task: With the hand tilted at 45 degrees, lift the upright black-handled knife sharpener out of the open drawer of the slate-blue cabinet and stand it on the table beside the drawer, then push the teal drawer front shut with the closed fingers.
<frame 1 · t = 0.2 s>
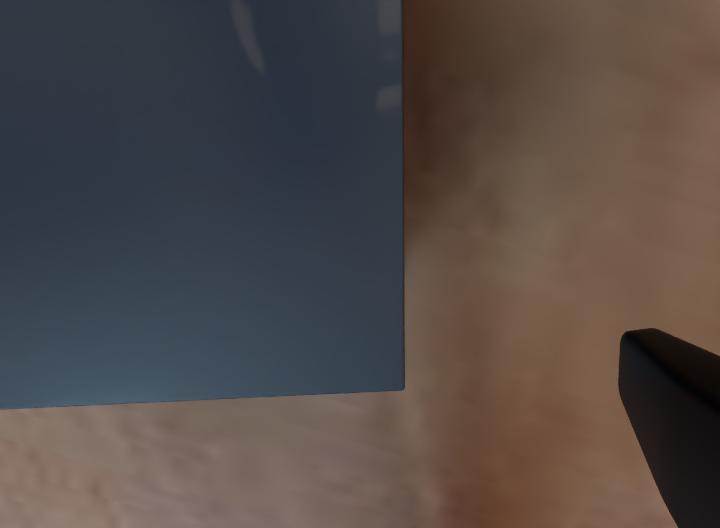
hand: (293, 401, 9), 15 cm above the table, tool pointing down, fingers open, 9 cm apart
cabinet: (203, 150, 22), on the table
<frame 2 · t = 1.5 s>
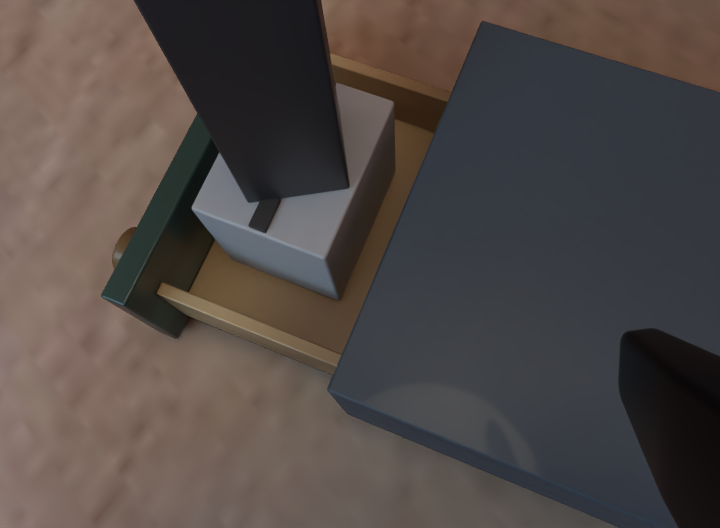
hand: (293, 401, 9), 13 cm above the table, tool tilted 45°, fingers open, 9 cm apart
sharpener: (314, 214, 23), point 1 cm above the table, touching drawer
cabinet: (578, 324, 23), on the table
drawer: (368, 221, 21), point 3 cm above the table, slide at 6.0 cm, touching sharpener
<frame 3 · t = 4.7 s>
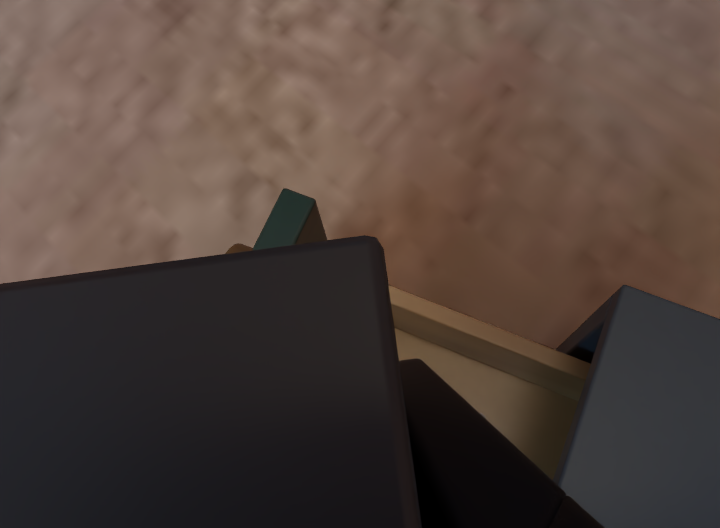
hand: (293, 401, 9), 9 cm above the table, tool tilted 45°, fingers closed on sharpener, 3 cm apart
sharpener: (347, 503, 16), point 1 cm above the table, touching drawer, gripper
when the fingers open (7 cm above the table, at t = 11.0 s): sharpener stays where it is, on the table.
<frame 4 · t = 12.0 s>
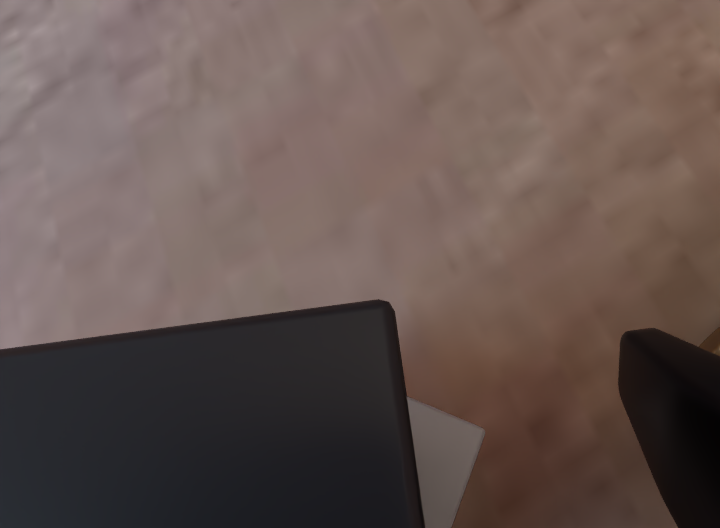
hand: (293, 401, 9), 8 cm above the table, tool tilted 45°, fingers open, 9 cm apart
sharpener: (351, 511, 16), on the table
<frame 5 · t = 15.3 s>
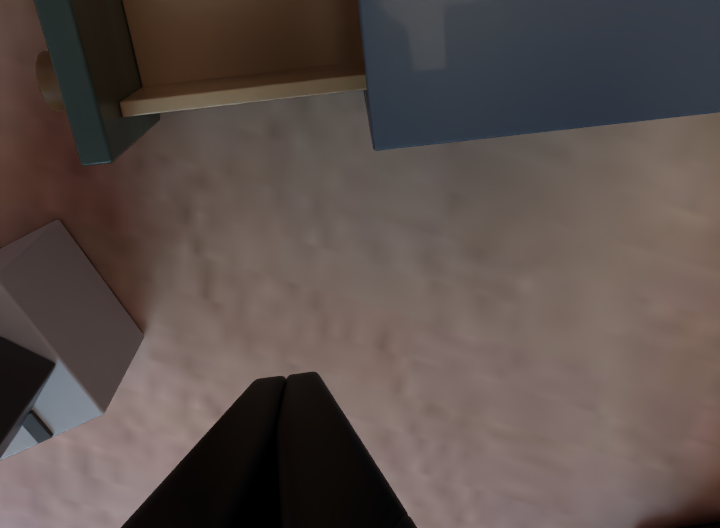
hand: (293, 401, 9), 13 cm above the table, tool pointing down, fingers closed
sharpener: (55, 303, 23), on the table
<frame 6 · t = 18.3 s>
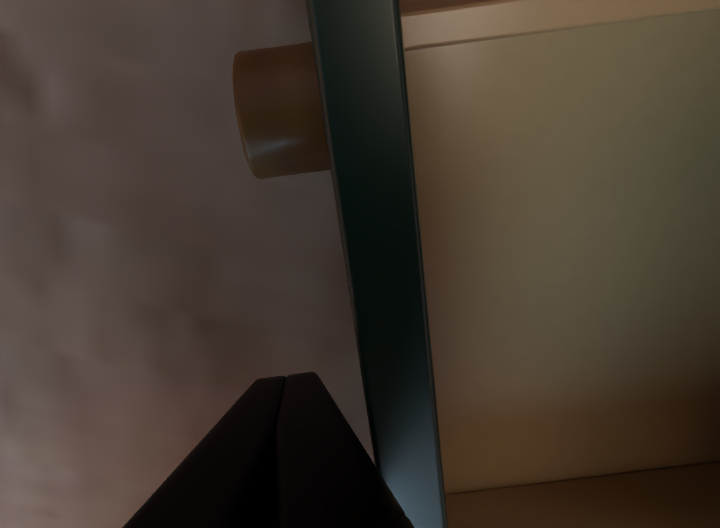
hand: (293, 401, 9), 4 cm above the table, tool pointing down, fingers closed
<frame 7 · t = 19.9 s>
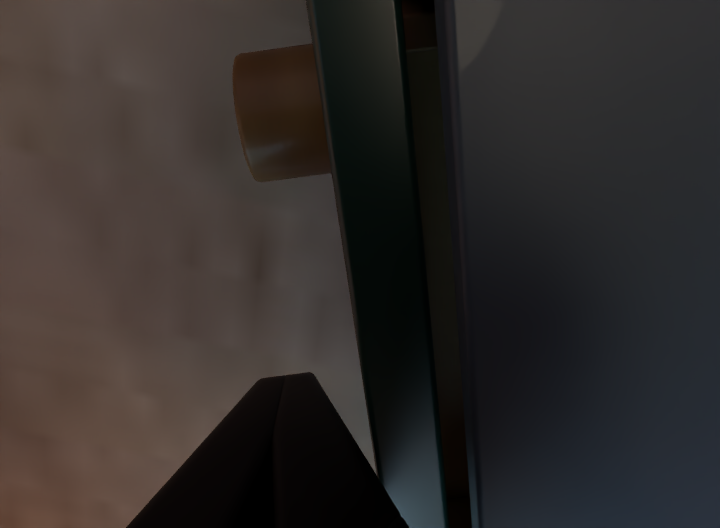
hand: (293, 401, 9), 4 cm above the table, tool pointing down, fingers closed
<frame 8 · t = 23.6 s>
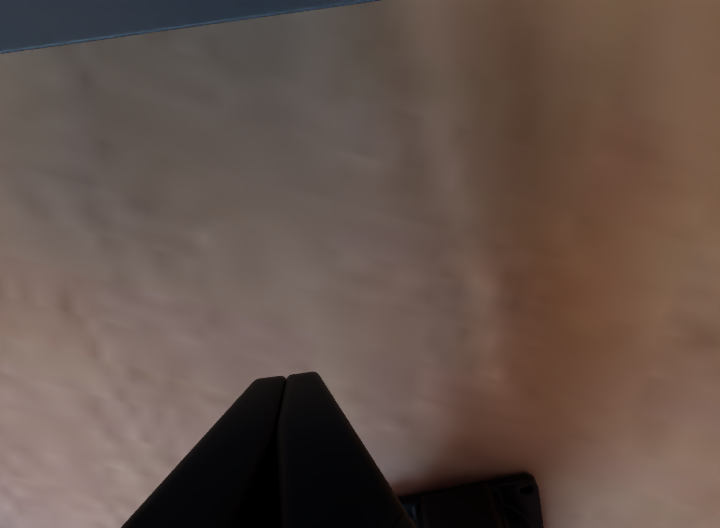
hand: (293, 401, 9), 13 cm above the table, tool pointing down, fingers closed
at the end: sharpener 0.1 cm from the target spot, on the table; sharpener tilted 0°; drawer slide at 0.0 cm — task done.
